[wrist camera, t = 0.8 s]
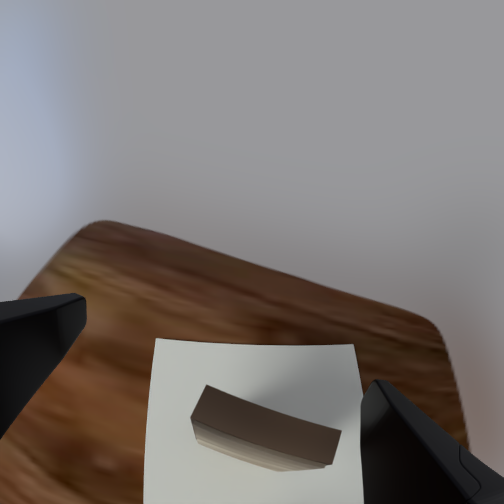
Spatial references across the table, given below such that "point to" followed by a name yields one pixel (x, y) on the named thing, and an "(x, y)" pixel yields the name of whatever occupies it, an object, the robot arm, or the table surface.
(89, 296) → the table surface
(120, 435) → the table surface
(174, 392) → the mat
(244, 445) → the tile
